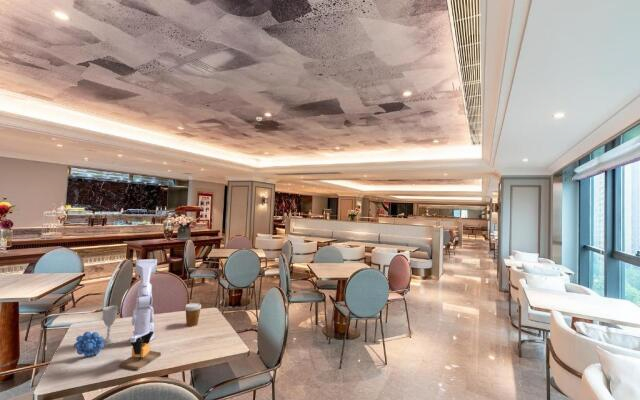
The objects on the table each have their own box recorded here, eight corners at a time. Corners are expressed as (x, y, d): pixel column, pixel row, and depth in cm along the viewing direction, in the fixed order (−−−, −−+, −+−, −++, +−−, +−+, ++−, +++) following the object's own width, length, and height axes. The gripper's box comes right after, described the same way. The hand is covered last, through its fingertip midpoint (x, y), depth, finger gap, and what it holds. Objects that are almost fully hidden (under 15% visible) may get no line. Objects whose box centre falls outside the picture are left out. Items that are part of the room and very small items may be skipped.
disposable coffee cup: (184, 322, 187) (185, 303, 188) (201, 321, 190) (202, 302, 191) (182, 328, 178) (183, 308, 179) (199, 327, 181) (200, 307, 182)
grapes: (71, 364, 134) (73, 337, 135) (73, 357, 140) (75, 331, 140) (103, 357, 141) (105, 332, 142) (103, 351, 147) (105, 327, 147)
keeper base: (143, 352, 147) (143, 341, 147) (160, 355, 145) (161, 344, 145) (118, 367, 134) (119, 354, 134) (137, 370, 132) (138, 358, 132)
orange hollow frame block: (138, 351, 142) (139, 342, 142) (149, 351, 142) (149, 343, 142) (131, 356, 137) (132, 347, 137) (142, 357, 137) (143, 348, 137)
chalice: (107, 346, 152) (109, 311, 152) (96, 344, 153) (98, 309, 154) (119, 340, 159) (121, 306, 160) (108, 338, 160) (111, 305, 161)
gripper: (143, 315, 147) (141, 343, 147) (124, 327, 133) (122, 358, 132) (157, 316, 147) (156, 344, 147) (140, 328, 133) (138, 359, 132)
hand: (141, 351), depth 140 cm, fingers closed on orange hollow frame block, 5 cm apart
